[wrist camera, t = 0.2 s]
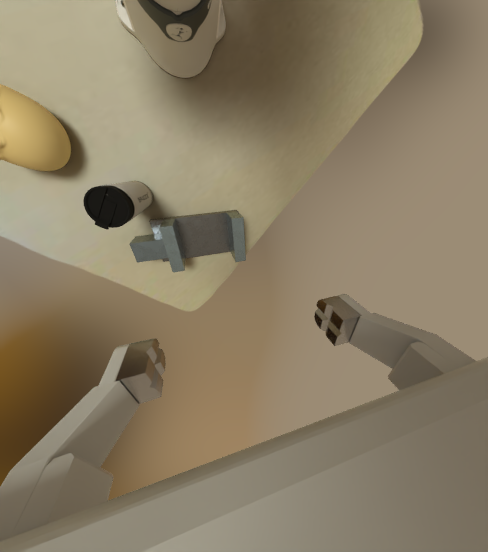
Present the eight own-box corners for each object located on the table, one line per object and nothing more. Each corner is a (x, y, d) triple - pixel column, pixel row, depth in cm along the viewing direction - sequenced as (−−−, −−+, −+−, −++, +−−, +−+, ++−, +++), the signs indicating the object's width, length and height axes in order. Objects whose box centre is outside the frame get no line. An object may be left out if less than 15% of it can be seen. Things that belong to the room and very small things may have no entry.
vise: (164, 258, 53) (159, 274, 45) (151, 219, 47) (142, 229, 39) (239, 247, 58) (247, 260, 49) (236, 209, 51) (245, 217, 43)
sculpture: (-6, 80, 30) (-90, 40, 21) (81, 122, 35) (43, 104, 26) (1, 151, 34) (-66, 144, 25) (78, 180, 39) (44, 182, 30)
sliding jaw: (147, 264, 51) (140, 277, 44) (130, 223, 44) (120, 231, 38) (185, 258, 53) (184, 270, 46) (175, 218, 46) (172, 225, 40)
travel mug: (120, 201, 43) (76, 218, 27) (128, 175, 41) (86, 176, 25) (147, 213, 46) (122, 236, 29) (156, 190, 44) (134, 200, 27)
